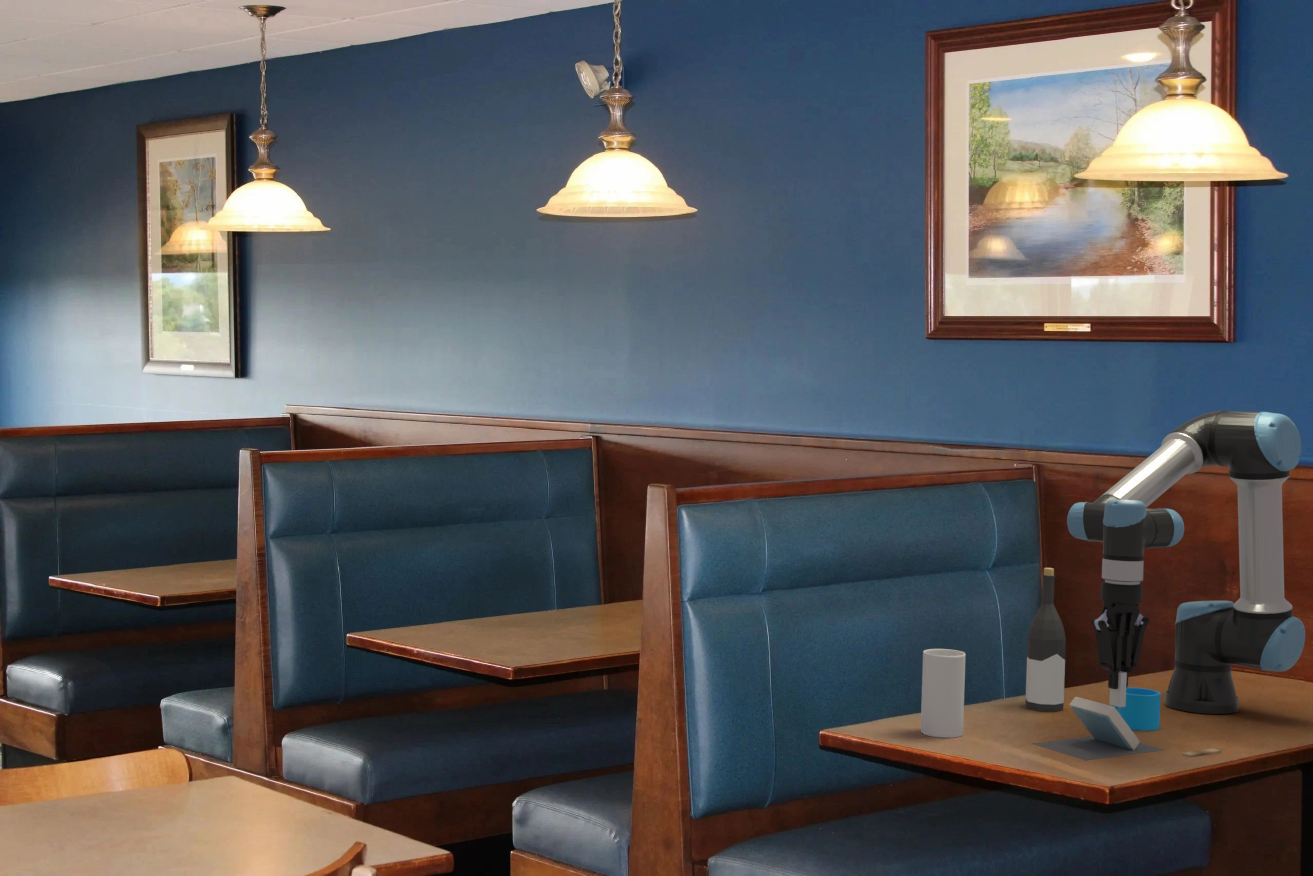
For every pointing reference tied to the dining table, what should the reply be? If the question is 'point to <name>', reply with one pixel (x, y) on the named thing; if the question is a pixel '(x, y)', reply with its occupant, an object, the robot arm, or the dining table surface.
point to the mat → (1093, 748)
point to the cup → (943, 693)
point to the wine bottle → (1046, 654)
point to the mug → (1141, 709)
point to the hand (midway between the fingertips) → (1117, 705)
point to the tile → (1104, 723)
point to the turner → (1201, 752)
